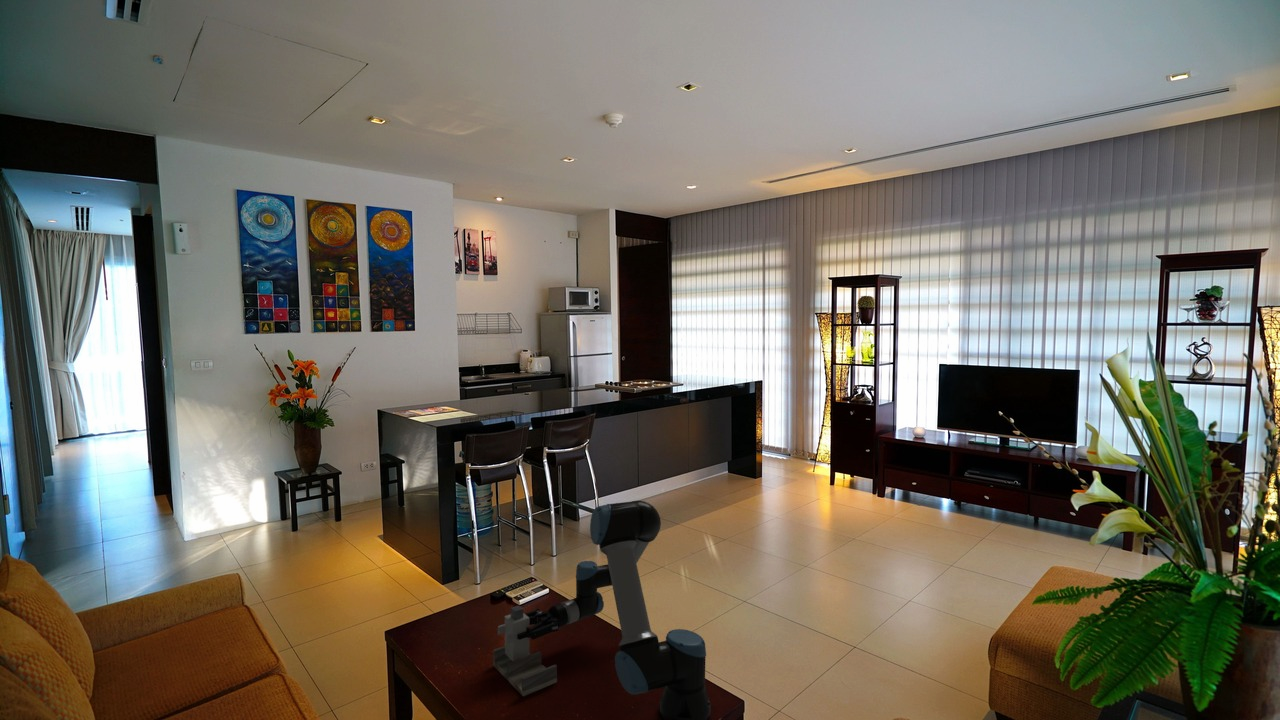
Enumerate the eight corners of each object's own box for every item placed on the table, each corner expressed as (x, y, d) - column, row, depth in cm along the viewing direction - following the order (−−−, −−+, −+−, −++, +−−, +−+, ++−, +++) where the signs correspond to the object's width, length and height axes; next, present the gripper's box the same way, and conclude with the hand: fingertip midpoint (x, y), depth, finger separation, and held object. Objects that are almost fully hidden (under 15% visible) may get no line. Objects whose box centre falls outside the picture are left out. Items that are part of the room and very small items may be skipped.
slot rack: (556, 682, 195) (556, 665, 194) (523, 696, 187) (523, 679, 187) (525, 653, 211) (525, 638, 211) (493, 665, 204) (493, 650, 203)
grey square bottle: (529, 655, 202) (529, 609, 201) (513, 661, 199) (512, 614, 198) (521, 647, 207) (520, 602, 206) (504, 653, 203) (504, 607, 202)
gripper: (578, 635, 206) (516, 658, 192) (549, 613, 221) (490, 633, 207) (578, 614, 206) (516, 636, 191) (549, 593, 221) (490, 612, 206)
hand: (502, 634), depth 199 cm, fingers closed on grey square bottle, 6 cm apart
